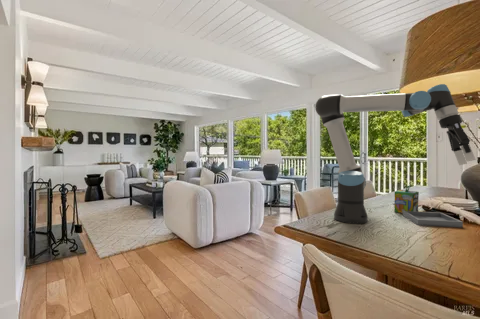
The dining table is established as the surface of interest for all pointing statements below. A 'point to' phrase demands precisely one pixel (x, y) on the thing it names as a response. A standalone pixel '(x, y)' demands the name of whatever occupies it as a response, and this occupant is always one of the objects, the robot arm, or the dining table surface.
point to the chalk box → (406, 200)
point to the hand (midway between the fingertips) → (466, 162)
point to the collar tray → (432, 219)
